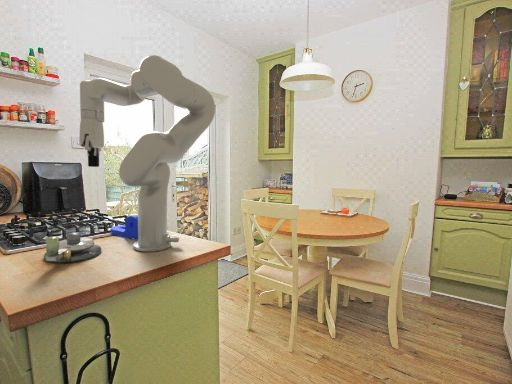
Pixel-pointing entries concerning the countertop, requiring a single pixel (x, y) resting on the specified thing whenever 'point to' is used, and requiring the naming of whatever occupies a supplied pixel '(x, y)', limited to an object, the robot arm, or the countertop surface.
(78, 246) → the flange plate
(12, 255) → the countertop surface
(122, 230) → the bracket
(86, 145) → the robot arm
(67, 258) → the post base
